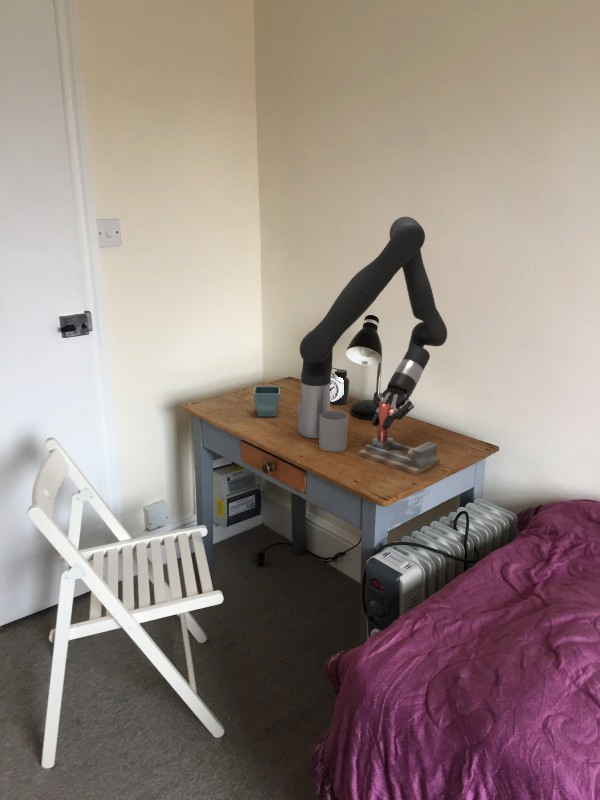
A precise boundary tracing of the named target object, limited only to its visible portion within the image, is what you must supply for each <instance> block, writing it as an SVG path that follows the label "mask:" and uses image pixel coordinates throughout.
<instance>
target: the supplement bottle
mask: <svg viewBox="0 0 600 800" xmlns="http://www.w3.org/2000/svg"><path fill="white" fill-rule="evenodd" d="M335 370H337V371H335V374H336V375H337V376H338V377H341V378H343V380H344V395H343V396H342V398H340V399H339V400H337V401H335V402H334V403H335V404H334V405H337V404H344V405H346V404H345V403H347V404H348V403H349V398H350V379H349V378H348V370H346V369H343V368H342V369H341V368H340V369H339V368H337V369H335Z"/></svg>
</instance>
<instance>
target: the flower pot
mask: <svg viewBox="0 0 600 800" xmlns="http://www.w3.org/2000/svg"><path fill="white" fill-rule="evenodd" d="M280 396H281V387H280V386H268V385H267V386H260V385H259V386H254V391H253V399H254V407H255V410H256V412H257V415H258V416H259V417H269V418H270V417H273V418H274V417H275V415H276V414H277V413H278V409H279V405H280Z"/></svg>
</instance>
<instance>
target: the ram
mask: <svg viewBox="0 0 600 800" xmlns="http://www.w3.org/2000/svg"><path fill="white" fill-rule="evenodd" d="M389 406H390V404H389V403H387V402H382V401H380V403H379V418H378V426H377V436H376V437H374V438H372V439H371V446H374V447H377V448H380V449H383V450H386V451H387V450H390V449H392V448H393V442H394V438H392V437H389V428H388V429H387V430H384V429H383V427H382V425H383V423H384V421H385V419H386V417H387V416H389V413H390V408H389Z"/></svg>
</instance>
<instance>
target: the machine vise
mask: <svg viewBox="0 0 600 800" xmlns="http://www.w3.org/2000/svg"><path fill="white" fill-rule="evenodd" d="M437 450H438V444H437V443H434V442H430V441H426V442H425V443H422V444H420V445H419V446H416V447H411V446H408V445H404V444H402V443H398V442H395V441H393V448H392V449H390V450H387V451H386V450H383V449H380V448H377V447H374V446H372V444H366V445H365V448H363V449H361V450H358V456H359V457H362V458H363V457H364V458H366V459H368V460H371V461H374V462H377V463H380V464H383V465H385V466H389V467H392V468H395V469H397V470H399V471H402V472H405V473H409V474H412V475H414V476H417V475H419V474H421V473H423V472H425V471H426V470H429V469H430V468H432V467H434V466H436V465H437V464H438V465H439V463H440V461H441V458H438V457H437Z"/></svg>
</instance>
